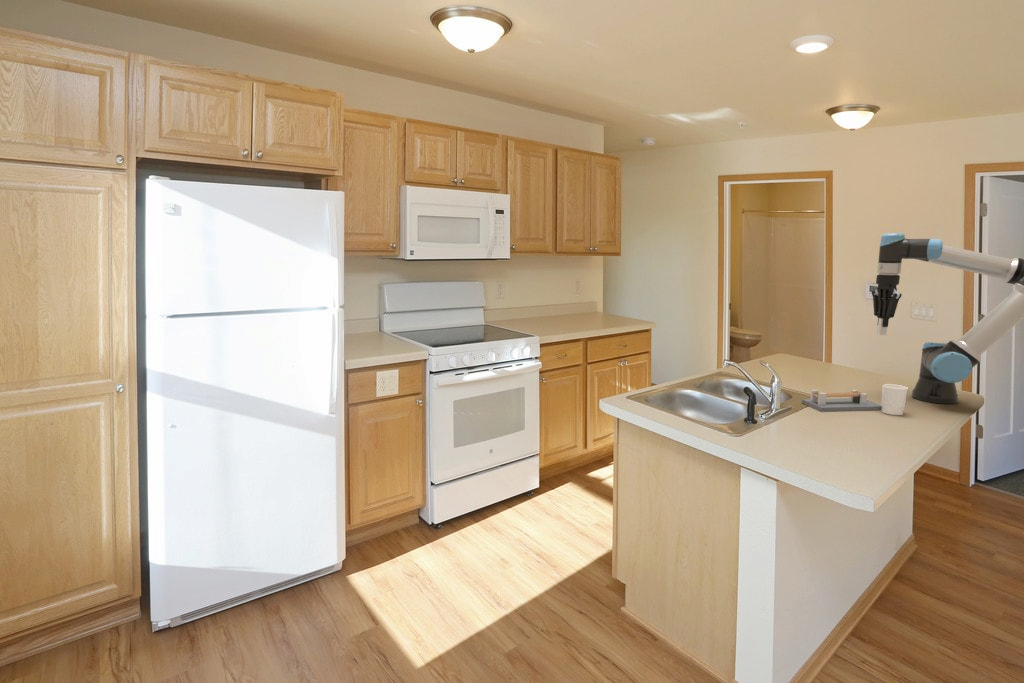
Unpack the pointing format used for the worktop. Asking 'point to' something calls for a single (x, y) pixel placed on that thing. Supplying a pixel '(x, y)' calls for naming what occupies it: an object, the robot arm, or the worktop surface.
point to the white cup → (893, 399)
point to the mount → (840, 403)
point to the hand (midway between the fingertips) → (881, 334)
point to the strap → (841, 394)
